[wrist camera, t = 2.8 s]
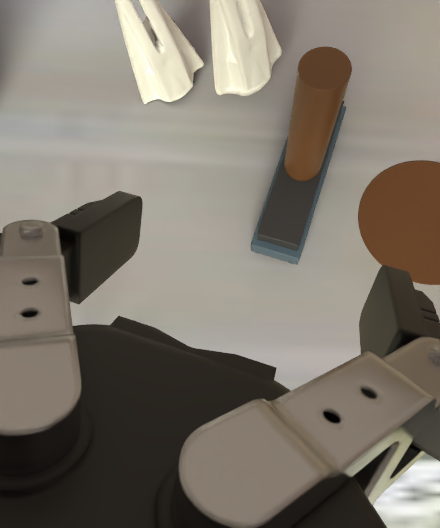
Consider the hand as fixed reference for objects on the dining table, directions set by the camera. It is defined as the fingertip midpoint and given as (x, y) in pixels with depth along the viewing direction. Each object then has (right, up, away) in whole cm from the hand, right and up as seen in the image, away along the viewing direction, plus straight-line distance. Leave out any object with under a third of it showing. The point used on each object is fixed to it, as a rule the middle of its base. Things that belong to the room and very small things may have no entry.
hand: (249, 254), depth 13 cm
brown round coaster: (+15, +3, +17) cm, 23 cm away
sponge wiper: (+5, +6, +19) cm, 20 cm away
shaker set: (-2, +15, +22) cm, 27 cm away
